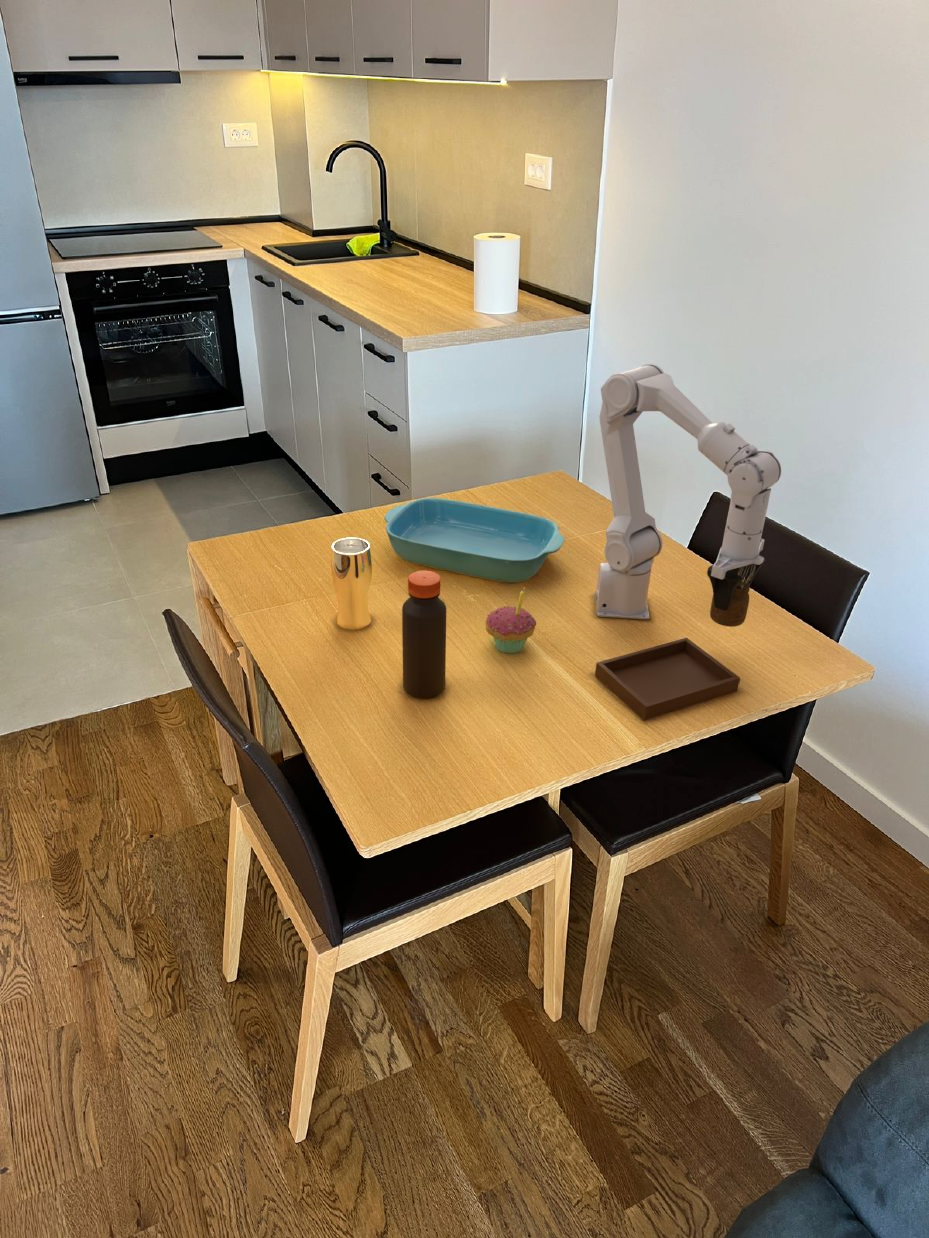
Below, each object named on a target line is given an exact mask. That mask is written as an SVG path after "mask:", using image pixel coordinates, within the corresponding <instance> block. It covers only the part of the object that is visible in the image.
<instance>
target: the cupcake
mask: <svg viewBox="0 0 929 1238" xmlns="http://www.w3.org/2000/svg"><path fill="white" fill-rule="evenodd" d="M525 589H526V588H525V587H523V589H522V590H521V591H520V593H519V597H518V600H517V606H508V605H507V606H502V607H501V606H500V607H498V608H496V609H494V610H492V611H490V613H489V614H488V615H487V617H486V619H485V631H486V632H487V633H488V635H490V636H492V638H493V641H494V645H495V648H496V649H497V650H498V651H500V652H502V653H505V654H516V653H519V652H521V651H522V650H523V649H524V647H525V644H526V642H527V640H528V639H529V638H530V637H532V636H533V635H534V632H535V630H536V626H537V621H536V618H534V617H533V615H532V614H531V613H530V612H528V611H527V610H525V608H524V609H523V608H522V604H523V600H524V597H525Z"/></svg>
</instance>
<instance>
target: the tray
mask: <svg viewBox="0 0 929 1238" xmlns="http://www.w3.org/2000/svg"><path fill="white" fill-rule="evenodd" d="M594 673H595V674H594V676H595V677H596V678H597V680H599V681H600V682H601V683H602V684H603V685H605V686H606V687H607V688H608V689H609V690H610V691H611V692H612V693H613V694H615V696H616V697H618V698H619V699H620V700H621V701H622V702H623V703H624V704H625V705H626V706H628V708H630V709H631V710H632V711H633V712H634V713H635V714H636V715H637V716H639V717H640V718H641V719H642V720H643V721H647V720H651V719H654V718H656V717H661V716H663V715H667V714H670V713H673V712H675V711H676V712H677V711H679V710H682V709H686V708H689V707H692V706H695V705H699V704H701V703H705V702H708V701H710V700H715V699H717V698H720V697H723V696H726V695H731V694H733V693H737V692H738V691H739V686H740V682H741V677H740V676H739V675H737V674H736V673H735V672H733V671H732V670H730V669H729V668H728V667H726V665H724V664H723V663H721V662H720V661H718V660H717V659H716V658H715V657H713V656H712V655H711V654H709V652H707V651H705V650H704V649H702V647H700V646H698V645H697V644H696V643H695V642H693V641H692V640H691V639H689V638H688V637H683V638H680V639H676V640H672V641H669V642H666V643H662V644H658V645H655V646H651V647H648V648H643V649H640V650H637V651H633V652H629V653H626V654H622V655H619V656H616V657H615V656H614V657H612V658H607V659H605V660H601V661H598V662H597V661H596V664H595V672H594Z"/></svg>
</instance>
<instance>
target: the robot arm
mask: <svg viewBox="0 0 929 1238" xmlns="http://www.w3.org/2000/svg"><path fill="white" fill-rule="evenodd" d="M674 383H675V382H674V380H673V377H672V376H671V375H670V374H669V373H667V372H664V370H663V368H661V367H660V366H659V365H657V364H655V363H646V364H644V365H641V366H640V367H637V368H633V369H629V370H626V371H623V372H616V373H614V374H612V375H610V376H609V377H608V379H607V380H606V381H605V382H604V384H603V385H602V386H601V387H600V394H601V400H602V401H601V408H600V412H599V426H600V432H601V438H602V446H603V452H604V460H605V465H606V471H607V479H608V484H609V492H610V498H611V504H612V511H613V519H612V520H611V522H610V524H609V525H608V527H607V529H606V531H605V537H606V542H605V546H604V558H605V560H606V562H600V563H599V565H598V572H597V581H596V590H595V592H594V601H595V609H596V610H595V611H596V616H597V617H602V618H603V617H604V618H620V619H634V620H635V619H636V620H649V619H650V612H649V605H648V594H649V588H650V581H651V573H652V568H653V567H652V566H653V564H654V560H655V557H657V556H658V555H660V553H661V552H662V549H663V538H662V535H661V533H660V532H659V530H658V527H657V524H656V518H655V517H653V516H652V515H650V514H649V513H647V512H646V507H645V499H644V493H643V485H642V479H641V471H640V465H639V458H638V450H637V449H638V448H637V444H636V437H635V427H634V423H635V422H636V421H637V419H639V417H640V416H641V415H642V413H644V412H660V413H661V414H663V415H664V416H666V417H667V418H668V419H669V420H671V421H672V422H674V423H675V424H676V425H678V426H679V427H680V428H682V429H683V430H684V431H686V432H687V433H688V434H690V435H691V436H692V437H693V438H695V439H696V440H697V450H698V451H699V452H700V453H701V454H702V455H703V456H704V457H705V458H707V459H708V460H709V461H710V462H711V463H712V464H713V465H714V466H716V467H717V468H718V469H719V470H720V471H721V472H722V473H723V474H725V475H726V477H727V482H728V483H727V484H728V486H729V487H730V489H731V492H730V493H731V494H730V502H729V508H728V513H727V518H726V523H725V529H724V533H723V539H722V545H721V547H720V549H719V552H718V555H717V558H716V561H715V562H714V564H712V565H710V566H708V567H707V570H706V575H707V577H708V578H709V581H710V585H711V587H712V598H713V597H714V606H715V607H716V608H719V609H721V610H724V611H726V610H727V609H728V607H729V605H730V603H731V600H732V597H733V594H734V592H735V590H736V588H737V586H738V584H739V583H740V582H741V580H742V579H744V578H745V580H747V581H748V582H749V585H750V586H751V584H752V583H753V581H754V578H755V577H756V575H757V573H758V572H759V570H760V569H761V568H762V566H763V565H765V563H766V561H767V557H766V556H764V555H761V554H760V552H762V551H763V549H764V546H765V545H764V544H765V539H764V538H762V536H763V530H764V527H765V521H766V517H767V512H768V507H769V501H770V497H771V492H772V488H771V487H773V486H774V485H775V484H777V483H778V482H779V480H780V478H781V476H782V466H781V462H780V461H779V459H778V458H777V457H776V456H775V454H774V453H773V452H772V451H769V450H766V449H762V450H761V449H758V448H757V447H756V446H755V445H754V444H750V443H749V442H748V441H746V440H745V439H744V438H743V437H742V436H740V434H738V433H737V432H736V431H735V430H736V427H735V426H734V425H733V424H731V423H728V424H726V423H725V422H723V421H720V422H719V421H718V422H713V421H711V420H710V419H709V418H708V417H707V416H706V415H705V414H704V413H703V412H702V411H701V410H700V409H699V408H698V407H697V405H695V404H694V403H693V402H692V401H691V400H690V398H688V397H687V396H686V395H685V394H684V393H683V392H682V391H681V390H680V389H679V388H678V386H677V387H676V385H675V384H674ZM754 564H755V566H754ZM747 565H748V566H747ZM749 566H750V567H749ZM741 567H742V568H741ZM739 569H740V570H739ZM742 569H743V570H742ZM751 569H752V570H751ZM754 569H755V570H754ZM745 570H746V571H745ZM747 571H748V572H747ZM752 571H753V572H754V573H753V572H752ZM738 572H740V573H739V574H738ZM741 572H742V573H741ZM744 572H745V573H744ZM750 572H751V573H750ZM746 573H747V574H746ZM743 575H744V576H743ZM752 575H753V576H752ZM748 577H750V578H748Z"/></svg>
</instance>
